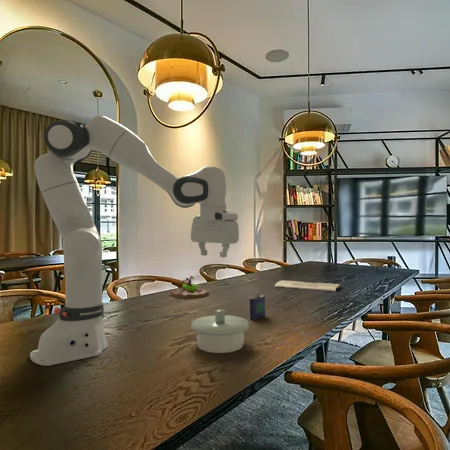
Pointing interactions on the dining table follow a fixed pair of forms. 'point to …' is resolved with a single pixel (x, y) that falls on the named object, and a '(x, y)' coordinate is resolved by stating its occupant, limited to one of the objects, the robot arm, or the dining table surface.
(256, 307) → the flask
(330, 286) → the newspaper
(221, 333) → the lid
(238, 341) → the bowl
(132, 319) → the dining table surface
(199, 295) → the plant
